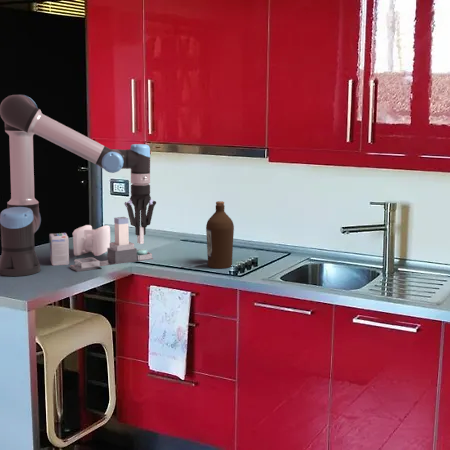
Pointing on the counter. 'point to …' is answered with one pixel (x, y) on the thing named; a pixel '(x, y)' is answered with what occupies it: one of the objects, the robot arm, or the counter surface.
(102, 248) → the cable organizer
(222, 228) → the olive oil
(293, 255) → the counter surface
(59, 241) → the light bulb box
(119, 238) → the pink upright block
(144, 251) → the release button
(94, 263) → the grey stepped holder
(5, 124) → the robot arm
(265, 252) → the counter surface
